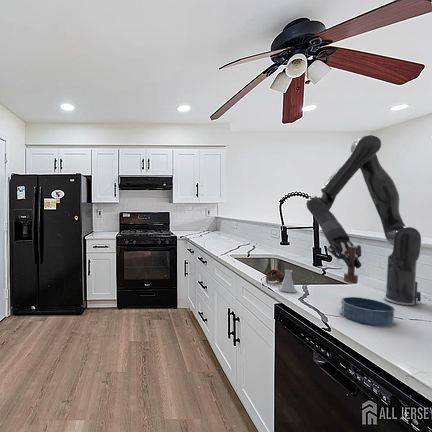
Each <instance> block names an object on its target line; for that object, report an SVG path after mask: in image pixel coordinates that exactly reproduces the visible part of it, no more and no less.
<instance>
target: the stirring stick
mask: <svg viewBox="0 0 432 432" xmlns="http://www.w3.org/2000/svg"><path fill="white" fill-rule="evenodd" d="M355 251H356V247H353V246H349V253H348V256H349V257H348V258H350V259H351V261H352V262H353V264H354V267H353V268H349V267H348V266H347V272H344V273H343V282H346V283H349V284H358V281H359V275H358V274H357V273H355V269H356V267H355Z"/></svg>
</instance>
